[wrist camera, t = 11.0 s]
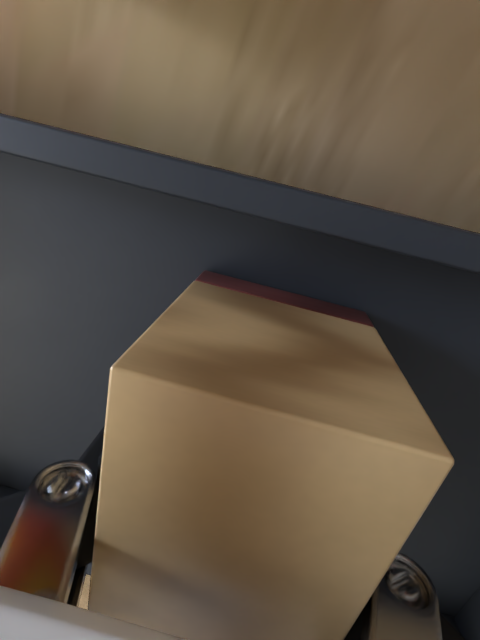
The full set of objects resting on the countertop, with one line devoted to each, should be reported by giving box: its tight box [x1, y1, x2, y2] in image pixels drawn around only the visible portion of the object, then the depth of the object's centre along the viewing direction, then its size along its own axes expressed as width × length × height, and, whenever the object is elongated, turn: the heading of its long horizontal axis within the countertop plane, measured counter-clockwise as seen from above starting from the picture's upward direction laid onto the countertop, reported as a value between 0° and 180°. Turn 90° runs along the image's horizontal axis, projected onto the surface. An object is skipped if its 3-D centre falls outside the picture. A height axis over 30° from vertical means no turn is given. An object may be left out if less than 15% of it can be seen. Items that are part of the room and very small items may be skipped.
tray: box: [0, 113, 480, 640], centre depth 12 cm, size 26×16×3 cm, turn 77°
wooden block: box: [88, 270, 454, 640], centre depth 9 cm, size 5×10×6 cm, turn 167°
